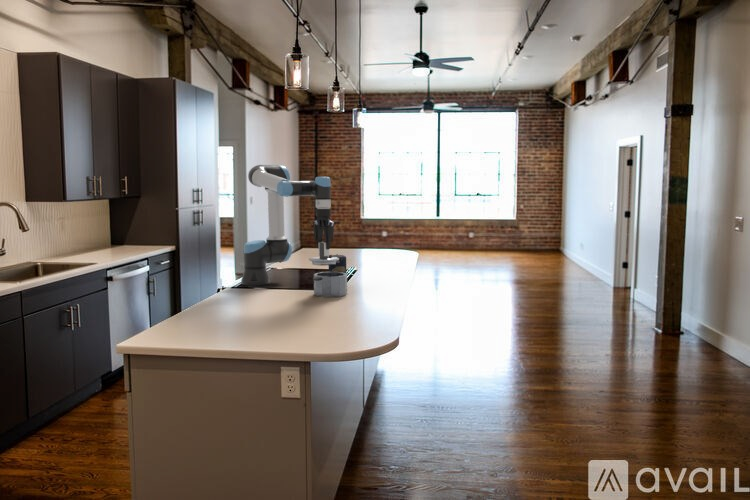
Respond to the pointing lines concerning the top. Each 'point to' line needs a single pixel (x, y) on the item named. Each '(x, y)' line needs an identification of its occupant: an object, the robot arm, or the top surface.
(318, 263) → the lid
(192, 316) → the top surface
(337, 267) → the canister
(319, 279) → the cooker pot
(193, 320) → the top surface
